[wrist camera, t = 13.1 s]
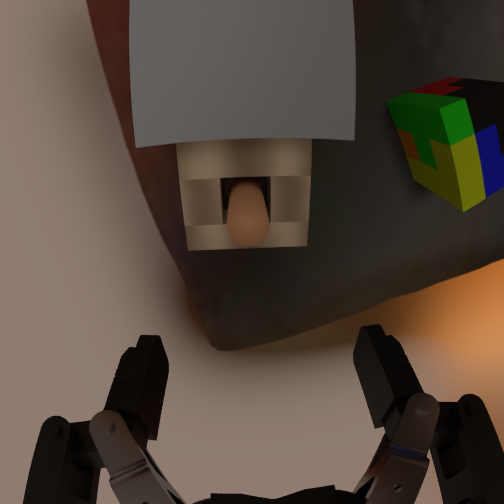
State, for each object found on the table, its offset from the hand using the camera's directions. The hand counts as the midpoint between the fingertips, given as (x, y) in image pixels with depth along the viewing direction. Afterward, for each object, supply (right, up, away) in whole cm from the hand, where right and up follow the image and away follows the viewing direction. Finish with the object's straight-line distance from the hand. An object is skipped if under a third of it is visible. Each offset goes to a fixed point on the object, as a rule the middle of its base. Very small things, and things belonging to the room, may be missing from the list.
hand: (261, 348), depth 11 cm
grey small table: (-1, +24, +12) cm, 27 cm away
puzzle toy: (+21, +18, +16) cm, 32 cm away
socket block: (-1, +14, +18) cm, 22 cm away
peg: (-1, +11, +19) cm, 22 cm away
